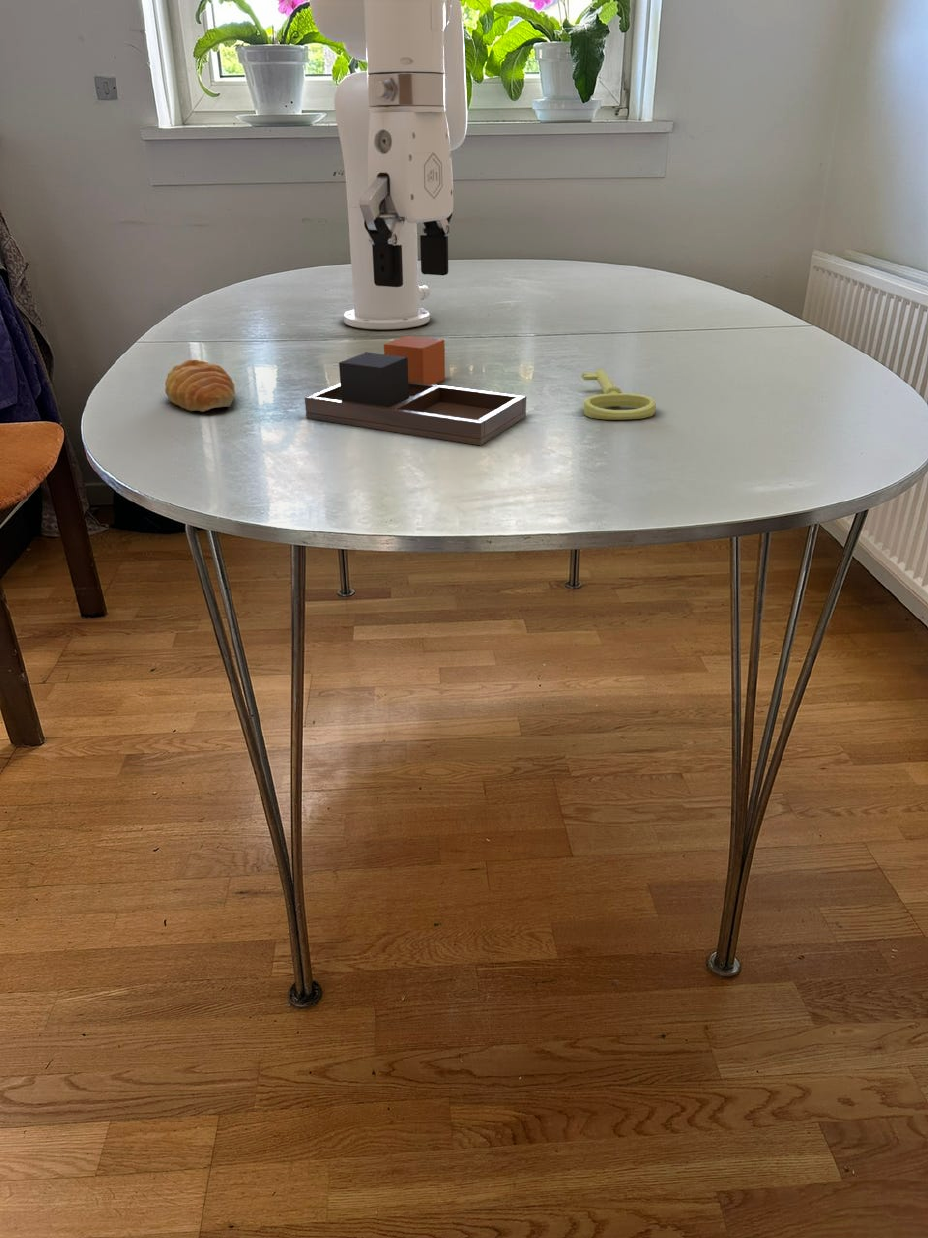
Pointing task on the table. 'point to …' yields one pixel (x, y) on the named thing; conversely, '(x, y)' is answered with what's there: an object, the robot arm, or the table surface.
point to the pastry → (199, 386)
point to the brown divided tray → (426, 412)
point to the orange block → (420, 357)
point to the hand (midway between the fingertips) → (412, 279)
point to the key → (615, 401)
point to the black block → (374, 379)
